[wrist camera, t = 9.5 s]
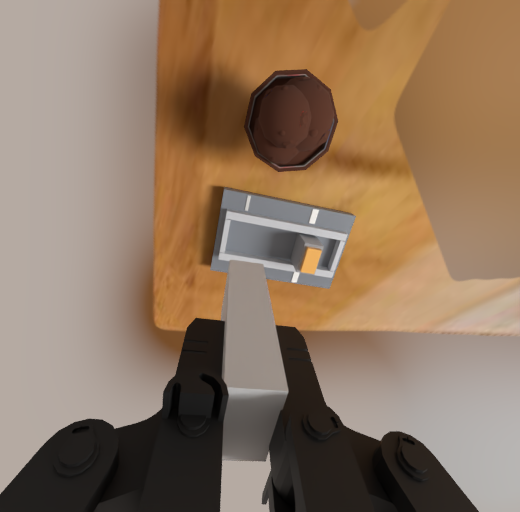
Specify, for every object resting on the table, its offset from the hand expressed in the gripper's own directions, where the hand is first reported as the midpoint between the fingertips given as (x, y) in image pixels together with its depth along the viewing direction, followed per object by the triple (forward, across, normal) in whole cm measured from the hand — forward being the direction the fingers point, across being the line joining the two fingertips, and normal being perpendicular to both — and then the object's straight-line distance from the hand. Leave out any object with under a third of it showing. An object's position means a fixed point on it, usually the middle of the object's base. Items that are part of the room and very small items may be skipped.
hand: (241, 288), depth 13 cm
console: (+33, +9, -9) cm, 36 cm away
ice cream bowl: (+34, +5, +8) cm, 35 cm away
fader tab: (+31, +13, -10) cm, 35 cm away
